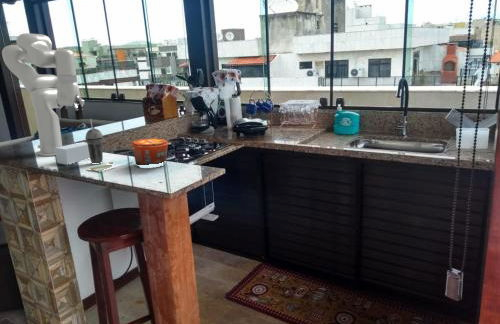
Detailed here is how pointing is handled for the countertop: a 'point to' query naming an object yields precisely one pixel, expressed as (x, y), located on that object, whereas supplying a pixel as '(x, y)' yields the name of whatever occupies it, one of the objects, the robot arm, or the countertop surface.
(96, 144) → the beverage cup
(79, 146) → the cover
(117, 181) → the countertop surface
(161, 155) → the food container
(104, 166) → the board
